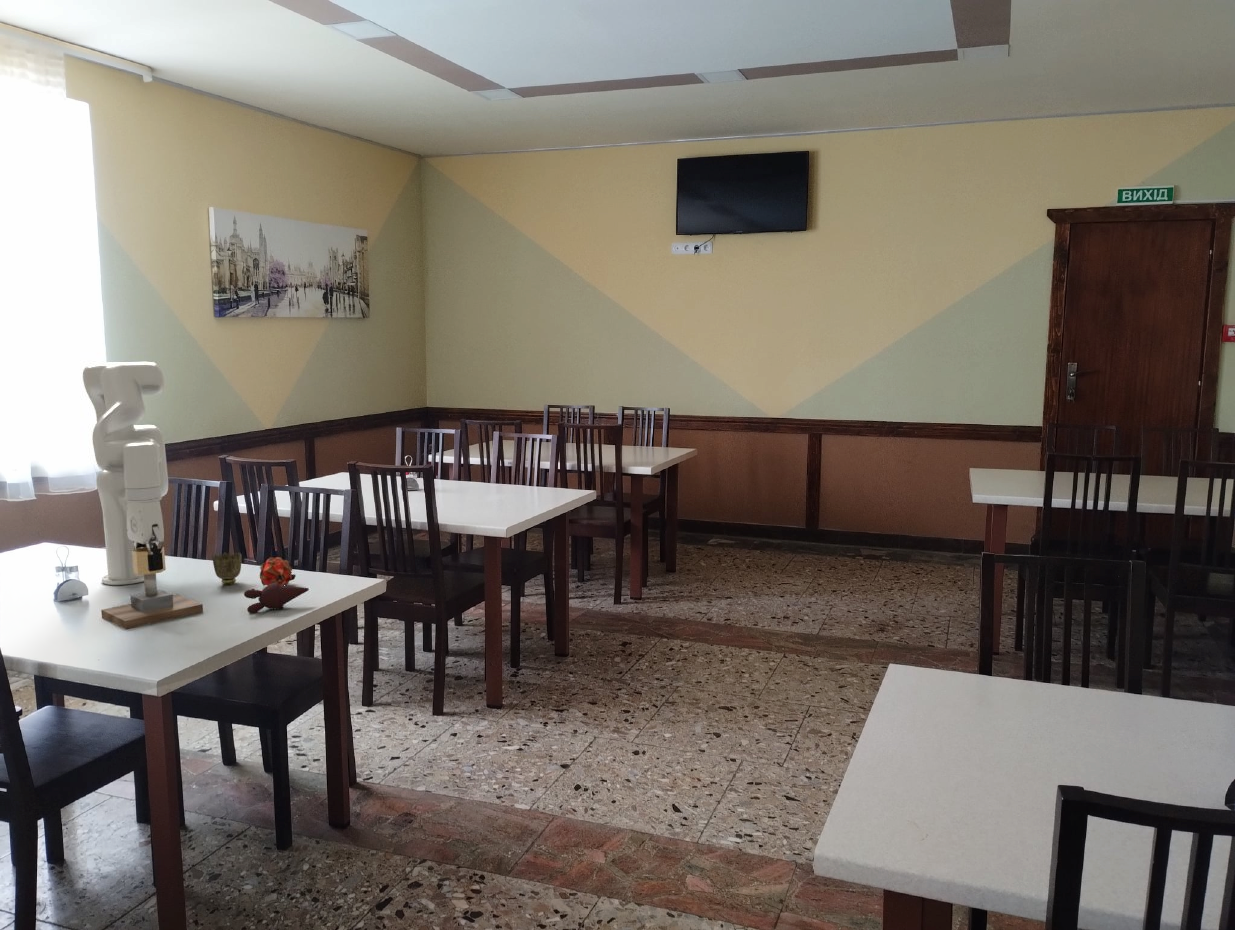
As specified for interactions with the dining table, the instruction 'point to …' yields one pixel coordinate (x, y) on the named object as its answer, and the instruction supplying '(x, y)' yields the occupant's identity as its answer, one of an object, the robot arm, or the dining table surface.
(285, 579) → the dragon fruit
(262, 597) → the icecream
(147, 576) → the shaft stand
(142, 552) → the hub
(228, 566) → the cup
